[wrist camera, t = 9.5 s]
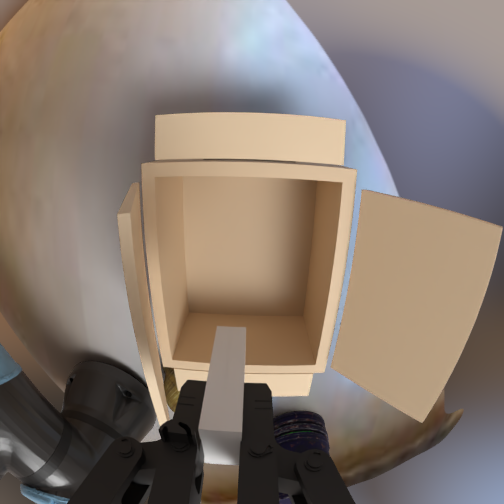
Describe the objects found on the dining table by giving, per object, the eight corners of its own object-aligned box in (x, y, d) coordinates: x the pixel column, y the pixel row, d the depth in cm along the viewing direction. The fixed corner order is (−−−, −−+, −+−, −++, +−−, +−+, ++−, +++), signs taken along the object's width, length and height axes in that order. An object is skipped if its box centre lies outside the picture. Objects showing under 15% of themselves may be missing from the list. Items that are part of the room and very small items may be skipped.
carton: (184, 339, 35) (168, 390, 26) (174, 124, 26) (141, 116, 18) (306, 343, 35) (317, 395, 26) (328, 128, 26) (359, 122, 18)
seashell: (185, 342, 40) (146, 378, 37) (184, 340, 33) (138, 383, 30) (233, 389, 39) (195, 425, 36) (242, 396, 32) (196, 439, 29)
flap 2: (421, 423, 17) (424, 419, 17) (502, 228, 11) (502, 226, 12) (330, 367, 24) (334, 364, 24) (361, 189, 19) (365, 189, 19)
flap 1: (130, 212, 10) (117, 214, 10) (176, 451, 15) (169, 452, 15) (139, 182, 19) (132, 183, 19) (159, 359, 24) (154, 360, 24)
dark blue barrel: (252, 426, 41) (251, 506, 27) (303, 402, 39) (316, 488, 25) (288, 448, 44) (294, 517, 30) (335, 426, 41) (351, 499, 27)
